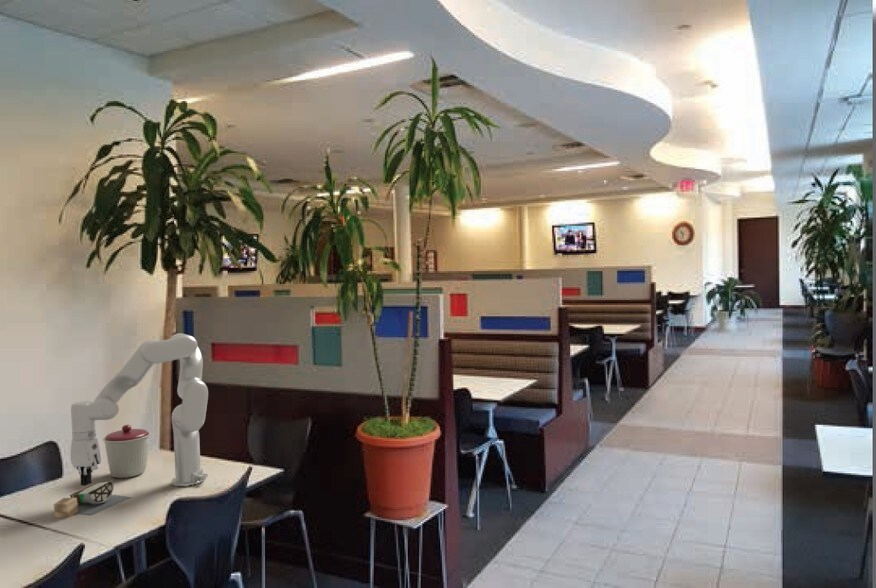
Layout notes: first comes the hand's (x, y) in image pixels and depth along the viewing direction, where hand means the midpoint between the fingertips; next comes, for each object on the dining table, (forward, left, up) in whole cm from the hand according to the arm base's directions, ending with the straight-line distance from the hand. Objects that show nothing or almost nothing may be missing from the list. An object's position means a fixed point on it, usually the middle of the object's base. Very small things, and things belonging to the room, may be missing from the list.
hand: (86, 484), depth 232 cm
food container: (+3, 0, -5) cm, 6 cm away
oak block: (-3, +11, -7) cm, 13 cm away
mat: (-6, 0, -7) cm, 9 cm away
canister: (+12, -31, -7) cm, 34 cm away
